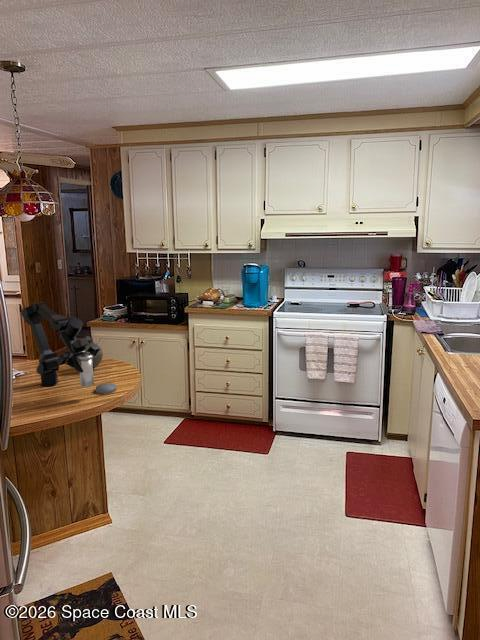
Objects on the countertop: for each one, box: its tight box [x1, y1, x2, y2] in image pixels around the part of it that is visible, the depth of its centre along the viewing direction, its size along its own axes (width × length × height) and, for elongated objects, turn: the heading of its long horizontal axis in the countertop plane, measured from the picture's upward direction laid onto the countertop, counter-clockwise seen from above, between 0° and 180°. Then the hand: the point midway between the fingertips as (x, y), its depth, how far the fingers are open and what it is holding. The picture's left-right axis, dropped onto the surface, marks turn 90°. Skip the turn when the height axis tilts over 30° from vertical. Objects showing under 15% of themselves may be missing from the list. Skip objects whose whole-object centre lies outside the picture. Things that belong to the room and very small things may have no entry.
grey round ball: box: [76, 341, 104, 369], centre depth 244 cm, size 14×14×15 cm
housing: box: [77, 354, 95, 387], centre depth 203 cm, size 6×6×13 cm
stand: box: [95, 382, 117, 395], centre depth 215 cm, size 9×9×2 cm
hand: (88, 370), depth 202 cm, fingers closed on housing, 6 cm apart
